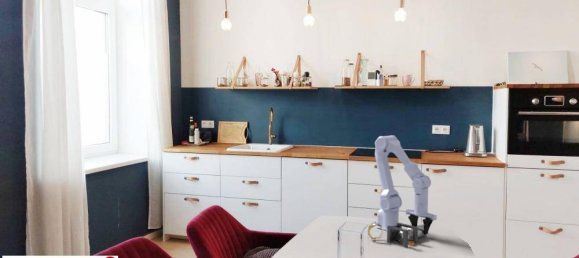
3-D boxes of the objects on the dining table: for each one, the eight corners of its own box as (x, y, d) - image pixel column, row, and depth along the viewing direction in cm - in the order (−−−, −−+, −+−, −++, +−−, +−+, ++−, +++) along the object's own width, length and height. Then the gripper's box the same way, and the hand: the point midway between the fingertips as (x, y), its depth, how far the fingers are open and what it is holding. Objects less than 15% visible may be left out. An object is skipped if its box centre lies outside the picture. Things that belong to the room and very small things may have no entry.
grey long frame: (406, 244, 202) (407, 232, 202) (396, 241, 206) (397, 229, 206) (427, 236, 213) (428, 225, 213) (417, 234, 217) (418, 223, 216)
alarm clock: (368, 241, 206) (368, 222, 206) (366, 238, 210) (367, 220, 209) (384, 241, 207) (384, 222, 206) (382, 238, 210) (383, 220, 209)
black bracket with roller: (386, 242, 205) (387, 226, 205) (398, 238, 211) (399, 222, 210) (407, 247, 197) (407, 231, 197) (418, 243, 203) (419, 227, 203)
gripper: (440, 204, 210) (439, 234, 211) (412, 198, 220) (411, 227, 221) (431, 206, 205) (431, 237, 206) (403, 201, 216) (402, 230, 217)
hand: (420, 232), depth 213 cm, fingers closed on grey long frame, 5 cm apart
